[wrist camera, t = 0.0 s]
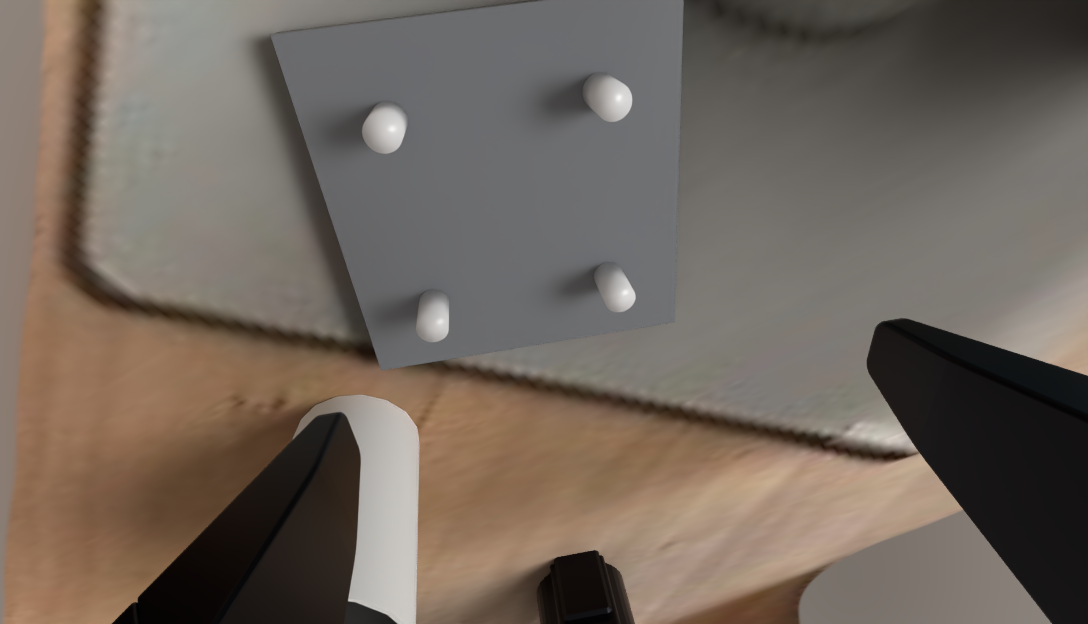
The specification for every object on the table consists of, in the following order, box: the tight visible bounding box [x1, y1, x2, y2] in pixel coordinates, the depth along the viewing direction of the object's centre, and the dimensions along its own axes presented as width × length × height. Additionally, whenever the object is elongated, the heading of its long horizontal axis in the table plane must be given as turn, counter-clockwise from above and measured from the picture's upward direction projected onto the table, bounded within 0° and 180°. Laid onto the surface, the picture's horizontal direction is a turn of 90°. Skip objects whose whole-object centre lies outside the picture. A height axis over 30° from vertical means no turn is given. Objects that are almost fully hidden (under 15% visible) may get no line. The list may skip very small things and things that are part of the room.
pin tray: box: [270, 0, 684, 370], centre depth 20 cm, size 13×13×3 cm
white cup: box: [292, 395, 419, 624], centre depth 22 cm, size 7×7×10 cm
